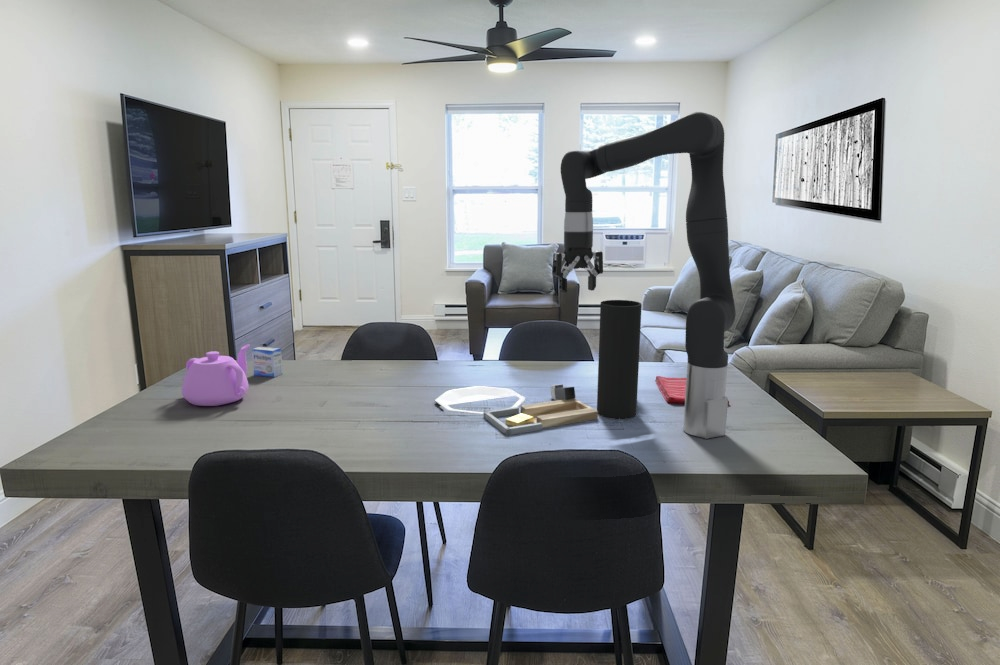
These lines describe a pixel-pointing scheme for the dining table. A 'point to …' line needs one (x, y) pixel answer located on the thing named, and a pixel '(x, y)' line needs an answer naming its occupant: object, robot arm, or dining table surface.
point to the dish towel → (672, 389)
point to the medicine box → (267, 361)
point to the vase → (618, 358)
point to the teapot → (215, 379)
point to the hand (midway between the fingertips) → (577, 291)
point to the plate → (475, 396)
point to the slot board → (559, 412)
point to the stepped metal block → (562, 392)
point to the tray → (501, 426)
